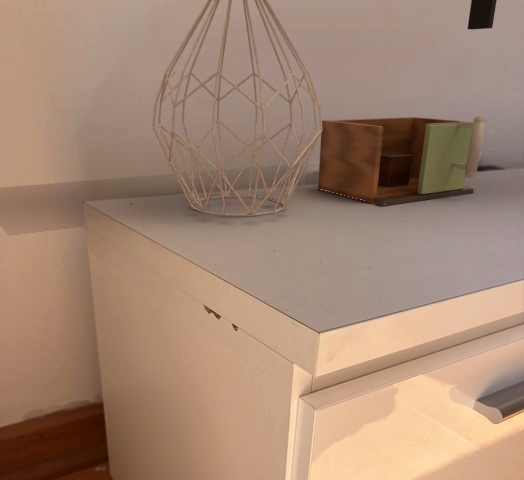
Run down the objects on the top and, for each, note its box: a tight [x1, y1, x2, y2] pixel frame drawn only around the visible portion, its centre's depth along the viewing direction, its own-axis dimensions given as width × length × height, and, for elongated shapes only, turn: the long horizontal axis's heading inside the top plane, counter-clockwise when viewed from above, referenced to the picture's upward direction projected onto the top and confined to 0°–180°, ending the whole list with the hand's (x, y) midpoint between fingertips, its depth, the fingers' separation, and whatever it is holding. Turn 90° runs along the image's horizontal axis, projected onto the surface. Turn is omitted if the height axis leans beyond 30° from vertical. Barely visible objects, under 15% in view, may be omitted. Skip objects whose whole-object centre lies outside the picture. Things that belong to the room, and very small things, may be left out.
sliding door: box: [417, 115, 487, 195], centre depth 72 cm, size 4×8×10 cm, turn 124°
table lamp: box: [152, 0, 323, 217], centre depth 60 cm, size 22×22×40 cm
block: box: [378, 152, 412, 187], centre depth 79 cm, size 4×4×4 cm
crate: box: [317, 116, 475, 207], centre depth 77 cm, size 12×18×9 cm
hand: (516, 31), depth 67 cm, fingers open, 13 cm apart
